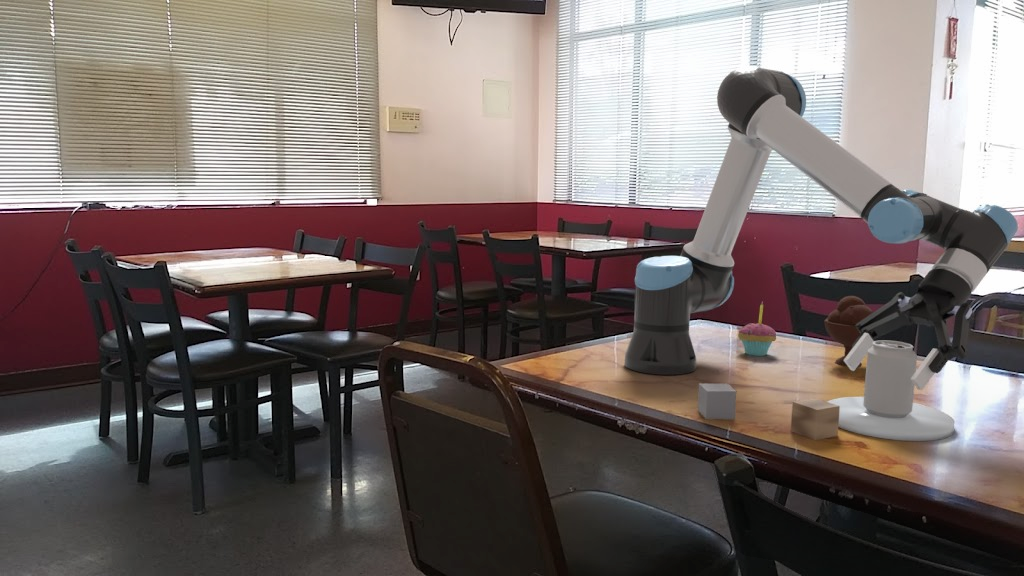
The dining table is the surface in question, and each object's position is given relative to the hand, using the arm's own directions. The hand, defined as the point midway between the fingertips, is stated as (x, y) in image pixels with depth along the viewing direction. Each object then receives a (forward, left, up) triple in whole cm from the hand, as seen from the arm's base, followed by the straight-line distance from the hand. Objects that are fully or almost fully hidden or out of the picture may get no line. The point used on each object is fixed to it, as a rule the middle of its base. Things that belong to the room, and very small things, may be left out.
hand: (880, 374), depth 133 cm
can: (0, +2, -7) cm, 7 cm away
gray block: (-11, -24, -8) cm, 28 cm away
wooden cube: (+2, -14, -8) cm, 16 cm away
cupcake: (-51, +11, -9) cm, 53 cm away
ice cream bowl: (-37, +25, -8) cm, 46 cm away
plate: (0, +2, -8) cm, 9 cm away
